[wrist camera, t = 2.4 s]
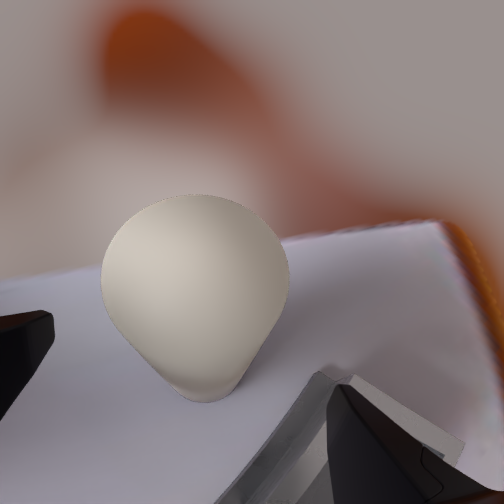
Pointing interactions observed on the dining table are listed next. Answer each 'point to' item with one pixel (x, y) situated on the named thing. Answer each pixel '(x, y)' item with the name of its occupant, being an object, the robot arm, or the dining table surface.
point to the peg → (196, 290)
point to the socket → (320, 447)
